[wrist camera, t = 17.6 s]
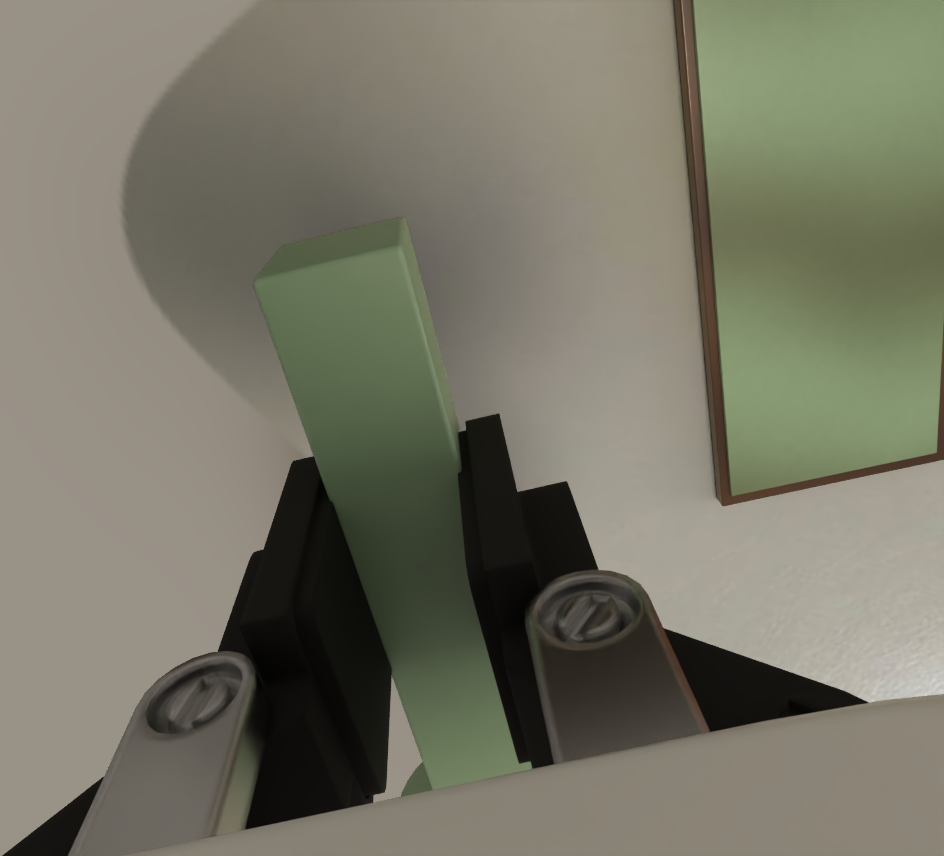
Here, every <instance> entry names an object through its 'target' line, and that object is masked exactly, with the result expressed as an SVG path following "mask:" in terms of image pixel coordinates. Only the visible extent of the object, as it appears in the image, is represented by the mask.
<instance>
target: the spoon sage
mask: <svg viewBox="0 0 944 856" xmlns="http://www.w3.org/2000/svg"><path fill="white" fill-rule="evenodd" d="M253 287H254V290H255V292H256V295H257V298H258V301H259V304H260V306H261V309H262V312H263V315H264V318H265V320H266V323H267V326H268V329H269V332H270V334H271V337H272V340H273V343H274V346H275V348H276V351H277V354H278V357H279V360H280V363H281V365H282V368H283V371H284V374H285V377H286V379H287V382H288V385H289V388H290V391H291V393H292V396H293V399H294V402H295V405H296V407H297V410H298V413H299V416H300V419H301V421H302V424H303V427H304V430H305V433H306V436H307V438H308V441H309V444H310V447H311V450H312V452H313V455H314V458H315V461H316V464H317V466H318V469H319V472H320V475H321V478H322V480H323V483H324V486H325V489H326V492H327V494H328V497H329V500H330V501H331V502H333V504H334V507H335V510H336V513H337V516H338V519H339V521H340V524H341V527H342V530H343V533H344V536H345V538H346V541H347V544H348V547H349V550H350V553H351V555H352V558H353V561H354V564H355V567H356V570H357V573H358V575H359V578H360V581H361V584H362V587H363V590H364V592H365V595H366V598H367V601H368V604H369V607H370V609H371V612H372V615H373V618H374V621H375V624H376V627H377V629H378V632H379V635H380V638H381V641H382V644H383V646H384V649H385V652H386V655H387V658H388V661H389V663H390V666H391V669H392V677H393V680H394V683H395V685H396V688H397V691H398V694H399V696H400V699H401V702H402V705H403V708H404V711H405V713H406V716H407V719H408V722H409V725H410V728H411V730H412V733H413V736H414V738H415V742H416V744H417V747H418V750H419V753H420V756H421V758H422V761H423V762H422V763H421V764H420V765H419V767H417V769H416V770H415V771H414V773H413V774H412V775H411V777H410V778H409V780H408V781H407V783H406V786H405V788H404V790H403V792H402V795H401V797H402V796H407V795H412V794H417V793H421V792H426V791H431V790H435V789H440V788H445V787H450V786H454V785H459V784H464V783H468V782H473V781H478V780H482V779H487V778H492V777H497V776H501V775H506V774H511V773H515V772H520V771H525V770H530V769H532V765H531V762H526V763H521V764H519V762H518V759H517V756H516V752H515V749H514V745H513V741H512V738H511V734H510V731H509V727H508V723H507V720H506V716H505V713H504V709H503V705H502V702H501V698H500V695H499V691H498V688H497V684H496V680H495V677H494V673H493V670H492V666H491V662H490V659H489V655H488V652H487V648H486V644H485V641H484V637H483V634H482V630H481V626H480V623H479V619H478V616H477V612H476V608H475V605H474V601H473V597H472V593H471V589H470V585H469V580H468V575H467V569H466V561H465V550H464V539H463V528H462V517H461V506H460V495H459V484H458V473H459V472H461V471H462V463H461V454H460V444H459V435H458V432H461V430H460V426H459V422H458V418H457V414H456V410H455V407H454V403H453V399H452V395H451V391H450V387H449V384H448V380H447V376H446V372H445V368H444V364H443V360H442V357H441V353H440V349H439V345H438V341H437V337H436V333H435V330H434V326H433V322H432V318H431V314H430V310H429V306H428V303H427V299H426V295H425V291H424V287H423V283H422V279H421V276H420V272H419V268H418V264H417V260H416V256H415V252H414V249H413V245H412V241H411V237H410V233H409V229H408V225H407V222H406V220H405V219H404V218H403V217H396V218H392V219H388V220H384V221H380V222H375V223H371V224H367V225H363V226H359V227H355V228H351V229H347V230H343V231H339V232H335V233H330V234H326V235H322V236H318V237H314V238H310V239H306V240H302V241H298V242H294V243H290V244H285V245H283V246H281V247H280V248H279V249H278V251H277V252H276V253H275V254H274V256H273V257H272V258H271V259H270V261H269V262H268V263H267V265H266V266H265V267H264V268H263V270H262V271H261V272H260V274H259V275H258V276H257V277H256V279H255V280H254V284H253Z"/></svg>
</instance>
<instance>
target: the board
mask: <svg viewBox="0 0 944 856" xmlns="http://www.w3.org/2000/svg"><path fill="white" fill-rule="evenodd" d="M674 6H675V17H676V29H677V41H678V52H679V64H680V75H681V87H682V98H683V110H684V121H685V133H686V144H687V156H688V167H689V179H690V191H691V202H692V214H693V225H694V237H695V248H696V260H697V271H698V283H699V294H700V306H701V318H702V329H703V341H704V352H705V364H706V375H707V387H708V398H709V410H710V421H711V433H712V444H713V456H714V468H715V479H716V491H717V499H718V500H719V502H720V503H721V505H722V506H727V505H732V504H736V503H741V502H746V501H750V500H755V499H760V498H765V497H769V496H774V495H779V494H784V493H788V492H793V491H798V490H802V489H807V488H812V487H817V486H821V485H826V484H831V483H835V482H840V481H845V480H850V479H854V478H859V477H864V476H869V475H873V474H878V473H883V472H887V471H892V470H897V469H902V468H906V467H911V466H916V465H921V464H925V463H930V462H935V461H939V460H944V0H674Z"/></svg>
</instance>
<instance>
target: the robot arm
mask: <svg viewBox="0 0 944 856" xmlns="http://www.w3.org/2000/svg"><path fill="white" fill-rule="evenodd" d="M458 435H459V444H460V454H461V463H462V471H461V472H459V473H458V484H459V495H460V506H461V517H462V528H463V539H464V550H465V561H466V569H467V575H468V580H469V585H470V589H471V593H472V597H473V601H474V605H475V608H476V612H477V616H478V619H479V623H480V626H481V630H482V634H483V637H484V641H485V644H486V648H487V652H488V655H489V659H490V662H491V666H492V670H493V673H494V677H495V680H496V684H497V688H498V691H499V695H500V698H501V702H502V705H503V709H504V713H505V716H506V720H507V723H508V727H509V731H510V734H511V738H512V741H513V745H514V749H515V752H516V756H517V759H518V762H519V764H521V763H526V762H531V765H532V769H530V770H525V771H520V772H515V773H511V774H506V775H501V776H497V777H492V778H487V779H482V780H478V781H473V782H468V783H464V784H459V785H454V786H450V787H445V788H440V789H435V790H431V791H426V792H421V793H417V794H412V795H407V796H402V797H398V798H394V799H388V800H384V801H379V802H375V803H373V795H375V794H380V793H384V792H385V789H386V780H387V759H388V738H389V717H390V695H391V675H392V669H391V666H390V663H389V661H388V658H387V655H386V652H385V649H384V646H383V644H382V641H381V638H380V635H379V632H378V629H377V627H376V624H375V621H374V618H373V615H372V612H371V609H370V607H369V604H368V601H367V598H366V595H365V592H364V590H363V587H362V584H361V581H360V578H359V575H358V573H357V570H356V567H355V564H354V561H353V558H352V555H351V553H350V550H349V547H348V544H347V541H346V538H345V536H344V533H343V530H342V527H341V524H340V521H339V519H338V516H337V513H336V510H335V507H334V504H333V502H331V501H330V500H329V497H328V494H327V492H326V489H325V486H324V483H323V480H322V478H321V475H320V472H319V469H318V466H317V464H316V461H315V458H314V456H313V457H308V458H304V459H300V460H296V461H293V462H292V464H291V467H290V470H289V473H288V477H287V479H286V482H285V485H284V488H283V491H282V495H281V498H280V501H279V504H278V507H277V510H276V513H275V516H274V519H273V522H272V526H271V528H270V531H269V534H268V538H267V541H266V544H265V547H264V550H260V551H256V552H254V553H253V554H252V556H251V558H250V560H249V563H248V566H247V569H246V572H245V574H244V577H243V580H242V583H241V586H240V589H239V592H238V595H237V597H236V600H235V603H234V606H233V609H232V612H231V615H230V618H229V620H228V623H227V626H226V629H225V632H224V635H223V638H222V641H221V644H220V646H219V649H218V652H212V653H208V654H205V655H202V656H198V657H195V658H192V659H190V660H188V661H186V662H185V663H182V664H181V665H179V666H177V667H175V668H173V669H172V670H171V671H169V672H168V673H166V674H165V675H164V676H162V677H161V678H160V679H158V680H157V681H156V682H155V683H154V684H153V686H151V688H150V689H149V690H147V692H146V693H145V694H144V696H143V697H142V699H141V700H140V702H139V703H138V705H137V707H136V708H135V711H134V713H133V715H132V717H131V720H130V722H129V724H128V726H127V728H126V731H125V733H124V735H123V737H122V739H121V741H120V743H119V746H118V748H117V750H116V752H115V754H114V756H113V759H112V761H111V763H110V765H109V767H108V770H107V772H106V774H105V776H104V777H103V778H101V779H100V780H99V781H97V782H96V783H95V784H94V785H92V786H91V787H90V788H88V789H87V790H86V791H85V792H84V793H82V794H81V795H80V796H78V797H77V798H76V799H74V800H73V801H72V802H71V803H69V804H68V805H67V806H65V807H64V808H63V809H62V810H60V811H59V812H58V813H57V814H55V815H54V816H53V817H51V818H50V819H49V820H47V821H46V822H45V823H44V824H42V825H41V826H40V827H38V828H37V829H36V830H35V831H33V832H32V833H31V834H30V835H28V836H27V837H26V838H24V839H23V840H22V841H21V842H19V843H18V844H17V845H15V846H14V847H13V848H12V849H10V850H9V851H8V852H7V853H5V854H4V855H3V856H944V694H941V695H931V696H921V697H911V698H901V699H891V700H883V701H877V702H871V703H868V702H866V701H864V700H862V699H860V698H858V697H856V696H854V695H852V694H850V693H847V692H845V691H843V690H840V689H837V688H834V687H831V686H828V685H825V684H823V683H820V682H817V681H814V680H811V679H808V678H805V677H802V676H799V675H797V674H794V673H791V672H788V671H785V670H782V669H779V668H776V667H774V666H771V665H768V664H765V663H762V662H759V661H756V660H753V659H751V658H748V657H745V656H742V655H739V654H736V653H733V652H730V651H728V650H725V649H722V648H719V647H716V646H713V645H710V644H707V643H705V642H702V641H699V640H696V639H693V638H690V637H687V636H684V635H682V634H679V633H676V632H673V631H670V630H667V629H664V628H663V627H662V624H661V622H660V620H659V618H658V616H657V613H656V611H655V609H654V607H653V605H652V602H651V600H650V598H649V596H648V594H647V593H646V591H645V590H644V589H643V587H642V586H641V585H640V584H639V583H638V582H636V581H634V580H633V579H631V578H630V577H628V576H626V575H623V574H619V573H616V572H613V571H605V570H598V567H597V564H596V561H595V559H594V556H593V553H592V550H591V547H590V544H589V542H588V539H587V536H586V533H585V530H584V527H583V525H582V522H581V519H580V516H579V513H578V511H577V508H576V505H575V502H574V499H573V496H572V494H571V491H570V488H569V485H568V483H567V481H565V482H560V483H556V484H551V485H547V486H542V487H538V488H534V489H529V490H525V491H520V492H517V489H516V484H515V480H514V476H513V471H512V467H511V463H510V458H509V454H508V450H507V445H506V441H505V437H504V432H503V428H502V424H501V419H500V415H499V414H495V415H490V416H486V417H482V418H477V419H473V420H469V421H466V431H462V432H458Z"/></svg>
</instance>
